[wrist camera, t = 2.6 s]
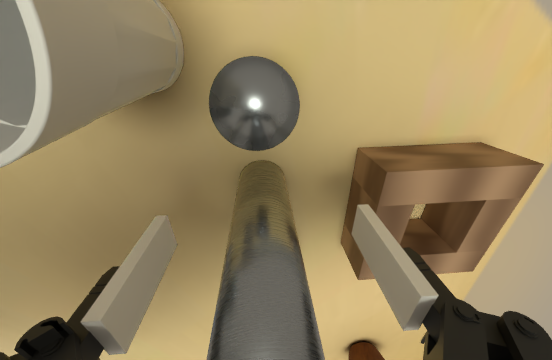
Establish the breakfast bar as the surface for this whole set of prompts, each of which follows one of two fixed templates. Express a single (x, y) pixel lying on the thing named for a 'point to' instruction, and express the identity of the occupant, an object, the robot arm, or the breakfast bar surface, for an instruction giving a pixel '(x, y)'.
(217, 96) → the short pin
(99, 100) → the cup
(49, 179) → the breakfast bar surface
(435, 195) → the hole block
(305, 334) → the long pin
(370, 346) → the wooden figurine
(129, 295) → the robot arm
